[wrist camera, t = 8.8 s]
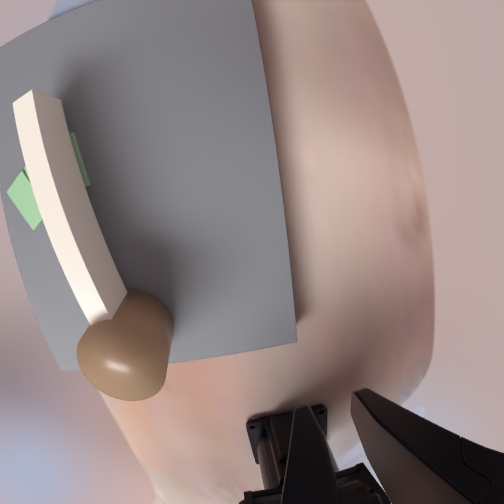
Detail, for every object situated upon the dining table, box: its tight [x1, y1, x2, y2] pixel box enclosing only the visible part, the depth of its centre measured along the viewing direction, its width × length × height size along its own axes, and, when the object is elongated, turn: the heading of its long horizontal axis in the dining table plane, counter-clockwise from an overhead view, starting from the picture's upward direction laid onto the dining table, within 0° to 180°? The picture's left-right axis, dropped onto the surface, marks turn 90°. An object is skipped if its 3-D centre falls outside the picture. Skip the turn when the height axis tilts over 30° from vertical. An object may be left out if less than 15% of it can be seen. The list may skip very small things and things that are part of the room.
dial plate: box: [0, 0, 297, 371], centre depth 14 cm, size 22×16×2 cm
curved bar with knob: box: [13, 90, 174, 401], centre depth 12 cm, size 15×4×4 cm, turn 17°
